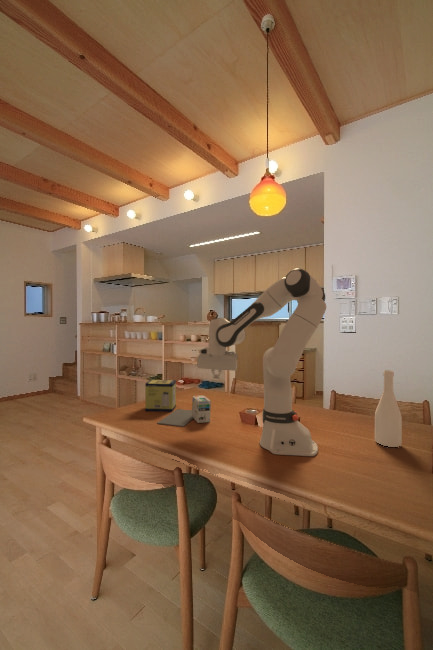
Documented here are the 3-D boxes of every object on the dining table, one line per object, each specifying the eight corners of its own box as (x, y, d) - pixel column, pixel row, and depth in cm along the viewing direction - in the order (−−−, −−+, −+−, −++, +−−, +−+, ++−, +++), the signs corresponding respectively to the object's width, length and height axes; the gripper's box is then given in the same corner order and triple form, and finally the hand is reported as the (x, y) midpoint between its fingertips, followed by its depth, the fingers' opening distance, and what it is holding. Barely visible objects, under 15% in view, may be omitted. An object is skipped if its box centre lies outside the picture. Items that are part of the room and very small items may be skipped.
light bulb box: (210, 422, 145) (211, 400, 145) (197, 423, 143) (198, 401, 143) (203, 415, 155) (204, 394, 155) (190, 416, 153) (192, 395, 153)
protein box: (149, 406, 173) (149, 379, 173) (176, 406, 173) (176, 379, 173) (144, 411, 163) (144, 383, 163) (172, 411, 162) (172, 383, 162)
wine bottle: (385, 438, 127) (386, 368, 127) (407, 446, 118) (407, 372, 118) (369, 441, 124) (370, 369, 123) (389, 450, 115) (390, 373, 115)
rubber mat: (201, 412, 162) (201, 411, 162) (183, 426, 139) (183, 425, 139) (177, 409, 166) (177, 408, 166) (157, 423, 143) (157, 422, 143)
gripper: (239, 351, 146) (238, 378, 146) (200, 349, 152) (199, 375, 152) (236, 352, 140) (235, 381, 140) (196, 350, 146) (195, 377, 146)
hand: (216, 378), depth 146 cm, fingers closed
